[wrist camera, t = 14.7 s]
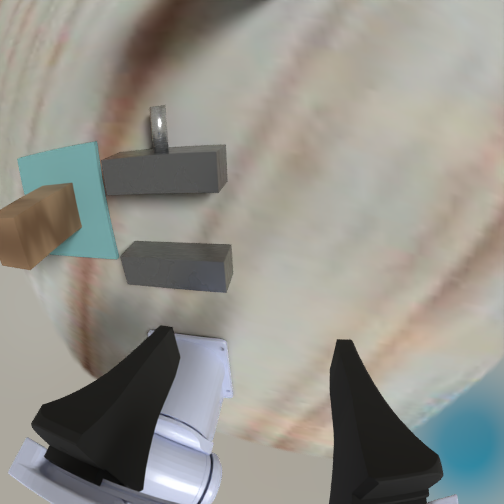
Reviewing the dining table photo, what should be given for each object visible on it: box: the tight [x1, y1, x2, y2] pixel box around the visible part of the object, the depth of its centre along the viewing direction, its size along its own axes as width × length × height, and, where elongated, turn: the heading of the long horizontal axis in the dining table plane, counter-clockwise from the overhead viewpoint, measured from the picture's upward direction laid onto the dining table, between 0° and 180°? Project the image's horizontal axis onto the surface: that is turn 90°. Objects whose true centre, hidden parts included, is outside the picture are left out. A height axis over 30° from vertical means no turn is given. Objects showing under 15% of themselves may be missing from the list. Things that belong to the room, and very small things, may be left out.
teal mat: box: [17, 141, 119, 259], centre depth 22 cm, size 10×10×1 cm
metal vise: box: [101, 105, 233, 293], centre depth 20 cm, size 13×8×2 cm, turn 1°
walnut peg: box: [0, 183, 82, 270], centre depth 19 cm, size 4×4×7 cm
